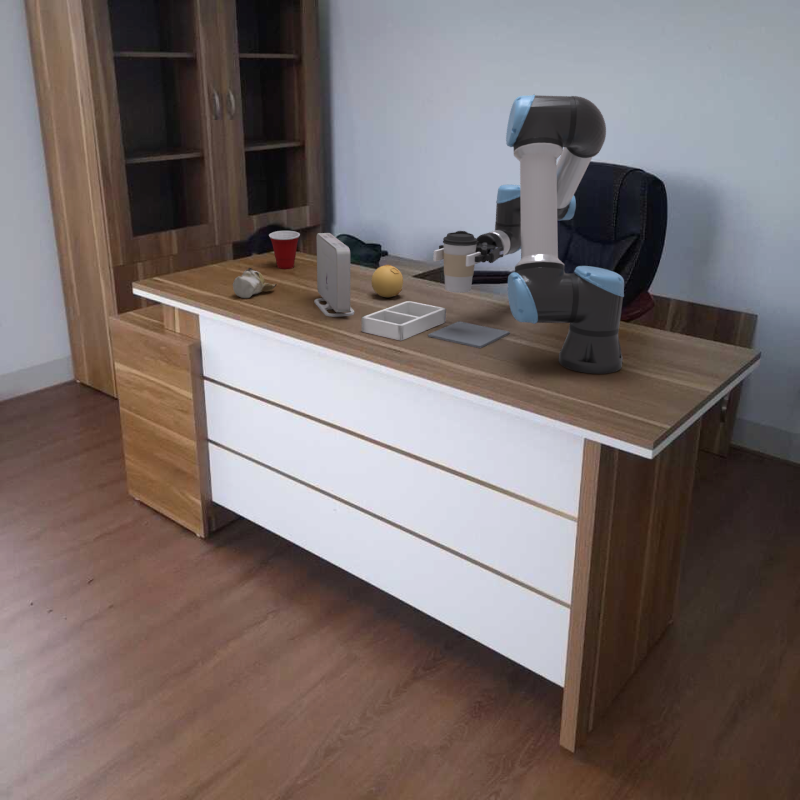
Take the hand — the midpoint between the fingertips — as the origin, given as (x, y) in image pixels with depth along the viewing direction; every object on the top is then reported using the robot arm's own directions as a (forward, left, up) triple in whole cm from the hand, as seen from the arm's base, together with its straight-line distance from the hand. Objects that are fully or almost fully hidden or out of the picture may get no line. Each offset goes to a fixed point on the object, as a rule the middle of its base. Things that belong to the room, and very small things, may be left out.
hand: (450, 258), depth 212 cm
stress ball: (+43, -2, -21) cm, 48 cm away
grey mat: (-2, -6, -21) cm, 22 cm away
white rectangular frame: (+11, +7, -21) cm, 25 cm away
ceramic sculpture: (+60, +37, -21) cm, 74 cm away
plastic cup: (+93, +15, -21) cm, 96 cm away
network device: (+37, +18, -21) cm, 46 cm away
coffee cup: (+2, -4, -9) cm, 10 cm away
